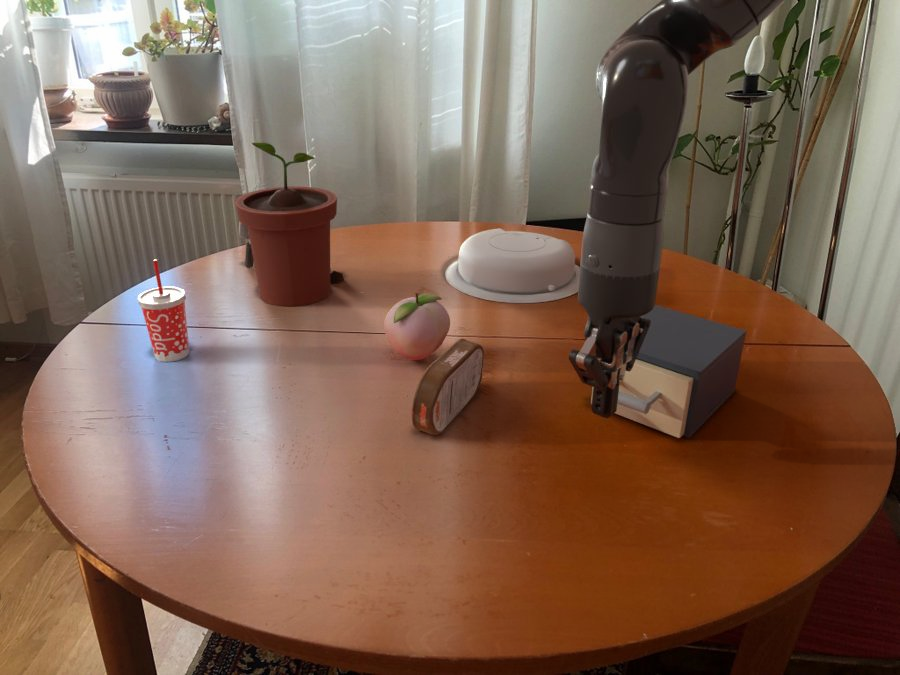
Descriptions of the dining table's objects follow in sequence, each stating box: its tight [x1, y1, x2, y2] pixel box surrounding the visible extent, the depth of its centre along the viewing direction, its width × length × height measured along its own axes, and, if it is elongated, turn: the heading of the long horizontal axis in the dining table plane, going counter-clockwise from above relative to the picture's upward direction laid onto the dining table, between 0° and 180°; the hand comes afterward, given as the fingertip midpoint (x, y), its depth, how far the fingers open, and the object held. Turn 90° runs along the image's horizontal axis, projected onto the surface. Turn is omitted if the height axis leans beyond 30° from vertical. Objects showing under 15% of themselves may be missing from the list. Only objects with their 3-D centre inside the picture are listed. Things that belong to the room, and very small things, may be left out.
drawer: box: [590, 358, 693, 439], centre depth 88 cm, size 17×12×7 cm
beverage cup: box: [136, 258, 190, 363], centre depth 101 cm, size 6×6×14 cm
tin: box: [411, 338, 485, 436], centre depth 88 cm, size 15×3×8 cm, turn 154°
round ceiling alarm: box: [444, 228, 580, 304], centre depth 130 cm, size 25×25×6 cm
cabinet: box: [637, 304, 747, 439], centre depth 91 cm, size 14×13×9 cm
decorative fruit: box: [383, 292, 451, 361], centre depth 100 cm, size 9×8×10 cm
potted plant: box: [234, 142, 345, 307], centre depth 121 cm, size 18×22×25 cm
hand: (603, 412), depth 79 cm, fingers closed
